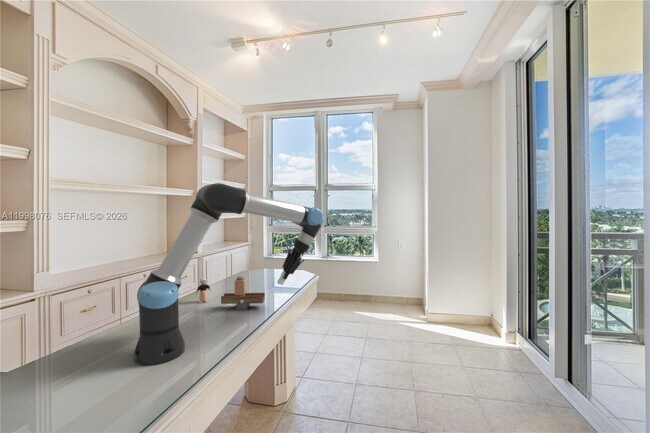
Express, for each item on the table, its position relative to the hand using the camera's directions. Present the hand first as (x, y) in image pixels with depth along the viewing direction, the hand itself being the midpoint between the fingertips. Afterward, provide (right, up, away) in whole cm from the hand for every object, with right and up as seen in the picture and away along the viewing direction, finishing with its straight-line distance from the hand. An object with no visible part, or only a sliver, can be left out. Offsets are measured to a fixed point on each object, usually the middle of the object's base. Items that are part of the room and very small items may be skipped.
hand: (279, 283), depth 149 cm
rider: (-19, -7, 0) cm, 20 cm away
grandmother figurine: (-41, -12, +10) cm, 44 cm away
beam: (-18, -12, 0) cm, 22 cm away
